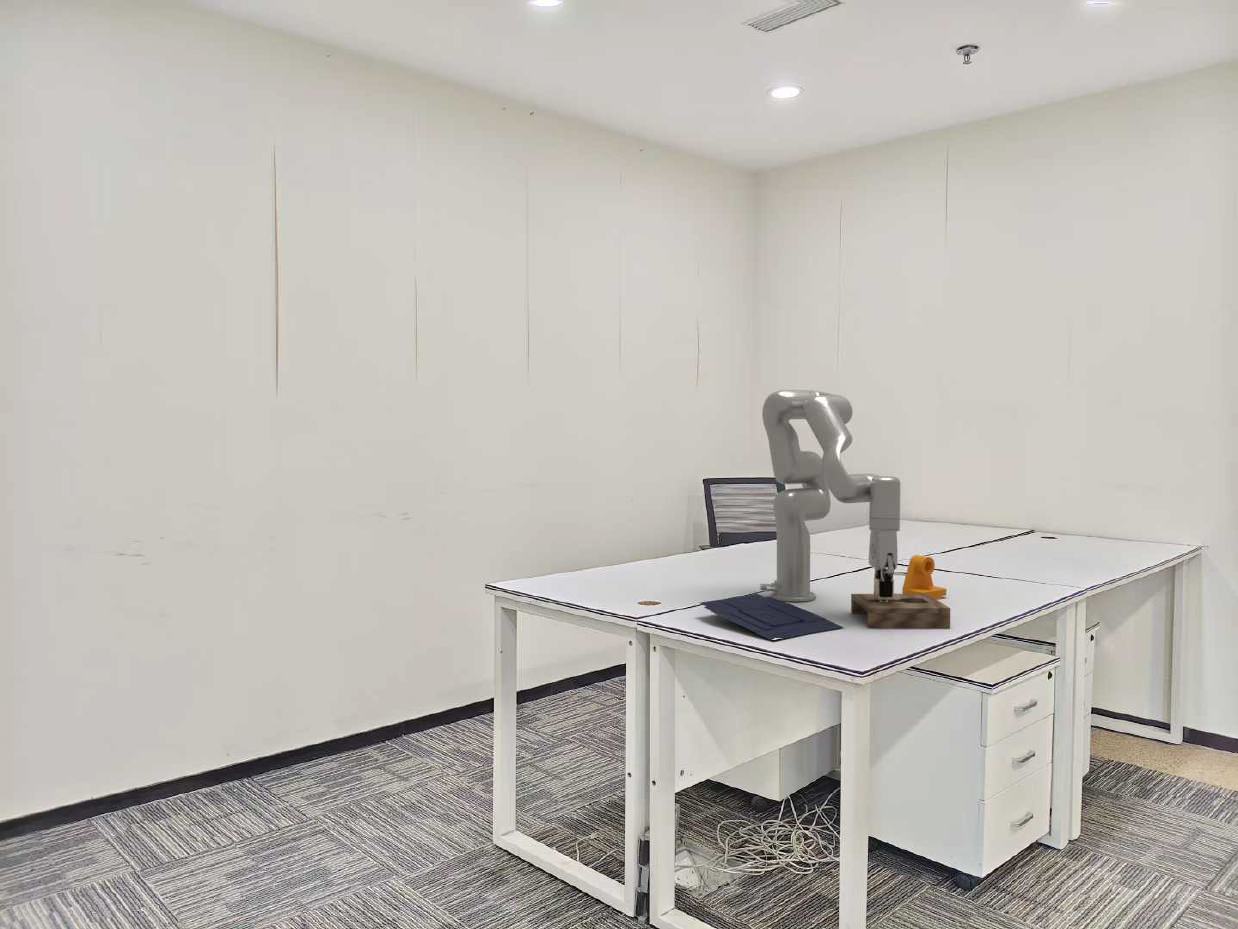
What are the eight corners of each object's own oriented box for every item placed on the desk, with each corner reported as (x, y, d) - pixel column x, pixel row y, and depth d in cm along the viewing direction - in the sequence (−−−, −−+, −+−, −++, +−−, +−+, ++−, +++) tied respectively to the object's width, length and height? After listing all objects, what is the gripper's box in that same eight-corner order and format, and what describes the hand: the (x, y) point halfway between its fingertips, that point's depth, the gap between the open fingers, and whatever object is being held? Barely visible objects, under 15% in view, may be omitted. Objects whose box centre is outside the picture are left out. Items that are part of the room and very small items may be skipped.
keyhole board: (869, 628, 221) (869, 608, 221) (851, 612, 239) (851, 593, 239) (950, 628, 221) (950, 608, 221) (925, 612, 239) (926, 593, 239)
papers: (761, 602, 247) (762, 589, 246) (843, 637, 222) (845, 623, 222) (692, 613, 233) (693, 600, 233) (771, 652, 209) (773, 637, 208)
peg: (877, 620, 228) (877, 580, 228) (872, 616, 233) (872, 577, 232) (894, 620, 228) (895, 580, 228) (889, 616, 233) (889, 577, 232)
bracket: (922, 602, 252) (923, 560, 252) (902, 597, 258) (902, 556, 258) (947, 598, 258) (948, 556, 257) (927, 593, 264) (927, 553, 263)
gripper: (861, 520, 237) (860, 588, 238) (879, 528, 221) (878, 602, 222) (889, 520, 237) (888, 588, 238) (909, 528, 221) (908, 602, 222)
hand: (883, 594), depth 230 cm, fingers closed on peg, 4 cm apart
